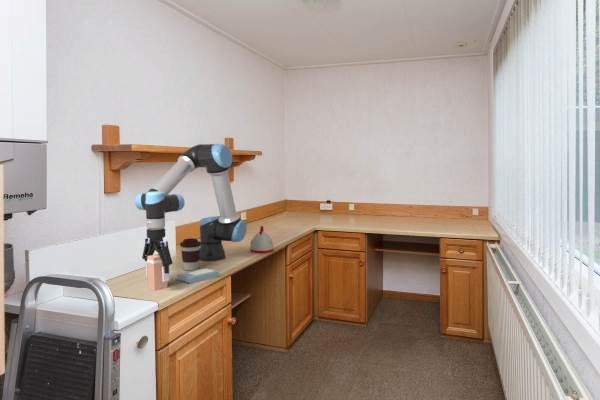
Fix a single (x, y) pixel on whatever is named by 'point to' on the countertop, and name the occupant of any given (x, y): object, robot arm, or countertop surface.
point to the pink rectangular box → (155, 273)
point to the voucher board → (197, 275)
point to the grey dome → (261, 243)
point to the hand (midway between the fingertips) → (157, 278)
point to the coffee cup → (190, 254)
